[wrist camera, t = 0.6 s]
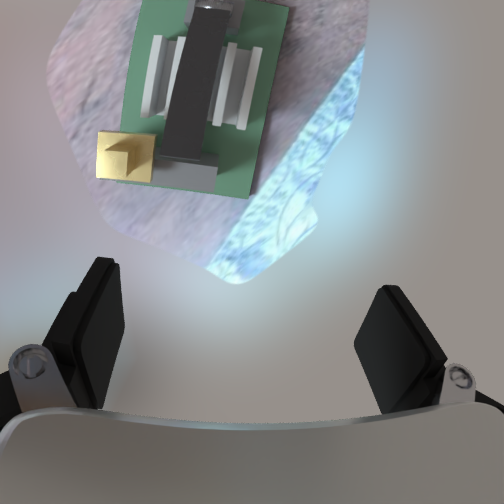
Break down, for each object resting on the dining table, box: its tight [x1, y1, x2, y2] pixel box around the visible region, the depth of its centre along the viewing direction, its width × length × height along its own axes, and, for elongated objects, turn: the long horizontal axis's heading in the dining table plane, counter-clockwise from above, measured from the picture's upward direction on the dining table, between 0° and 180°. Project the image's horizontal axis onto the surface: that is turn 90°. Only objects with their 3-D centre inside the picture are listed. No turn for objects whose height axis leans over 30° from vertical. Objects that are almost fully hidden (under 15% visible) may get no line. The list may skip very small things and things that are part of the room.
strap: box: [160, 0, 234, 161], centre depth 21 cm, size 15×3×2 cm, turn 169°
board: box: [100, 0, 289, 199], centre depth 26 cm, size 22×15×7 cm
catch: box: [96, 130, 158, 183], centre depth 23 cm, size 4×5×3 cm
